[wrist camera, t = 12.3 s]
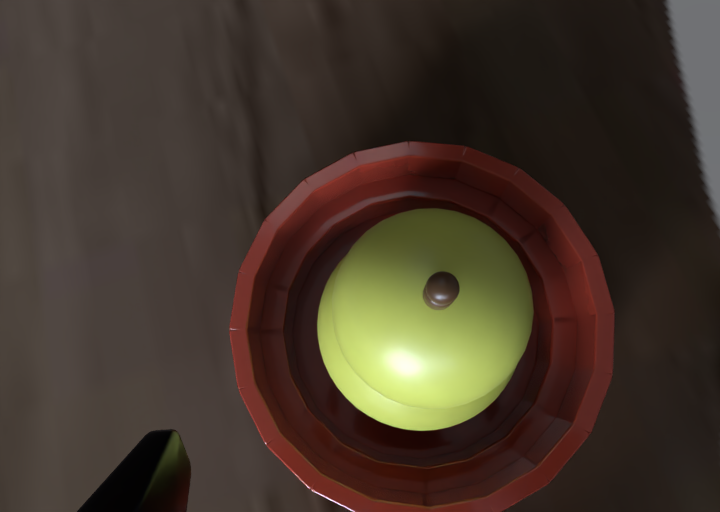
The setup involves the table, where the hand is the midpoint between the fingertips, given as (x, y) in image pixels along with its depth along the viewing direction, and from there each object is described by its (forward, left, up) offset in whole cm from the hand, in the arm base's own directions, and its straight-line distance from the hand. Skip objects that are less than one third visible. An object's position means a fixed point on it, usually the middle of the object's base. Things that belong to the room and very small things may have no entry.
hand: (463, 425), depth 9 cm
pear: (+2, -1, -13) cm, 13 cm away
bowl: (+2, -1, -14) cm, 14 cm away
